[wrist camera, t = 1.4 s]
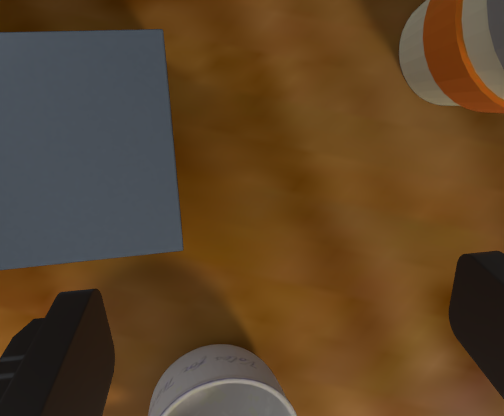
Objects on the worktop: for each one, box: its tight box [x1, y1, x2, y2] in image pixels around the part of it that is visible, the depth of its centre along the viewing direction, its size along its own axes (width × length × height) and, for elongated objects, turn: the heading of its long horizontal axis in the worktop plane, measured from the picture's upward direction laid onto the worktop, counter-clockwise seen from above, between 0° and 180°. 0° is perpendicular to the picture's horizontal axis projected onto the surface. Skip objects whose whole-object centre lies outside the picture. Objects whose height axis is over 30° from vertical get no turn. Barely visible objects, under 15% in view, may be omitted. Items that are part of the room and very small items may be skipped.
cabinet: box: [0, 29, 183, 270], centre depth 27 cm, size 15×13×9 cm
